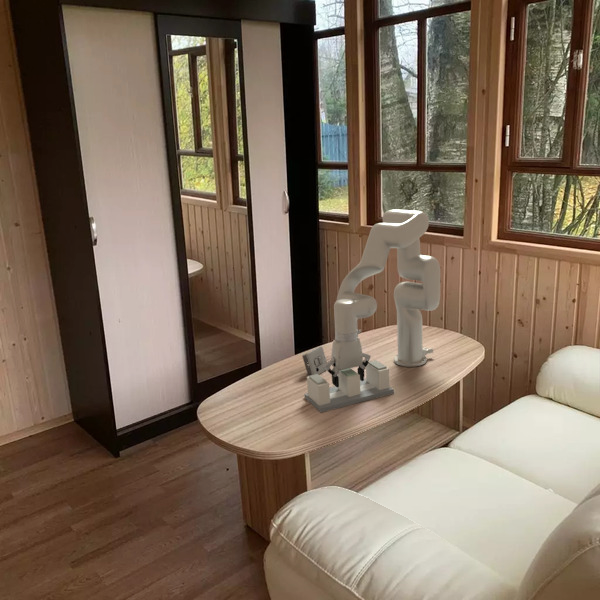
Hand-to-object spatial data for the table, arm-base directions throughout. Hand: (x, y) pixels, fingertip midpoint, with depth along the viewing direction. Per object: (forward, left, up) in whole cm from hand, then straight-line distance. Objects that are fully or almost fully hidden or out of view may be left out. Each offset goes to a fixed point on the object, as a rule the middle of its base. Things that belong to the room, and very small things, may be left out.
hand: (348, 382), depth 208 cm
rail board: (0, 0, -5) cm, 5 cm away
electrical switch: (+1, -25, -5) cm, 26 cm away
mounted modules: (0, 0, -3) cm, 3 cm away
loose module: (0, 0, -3) cm, 3 cm away
